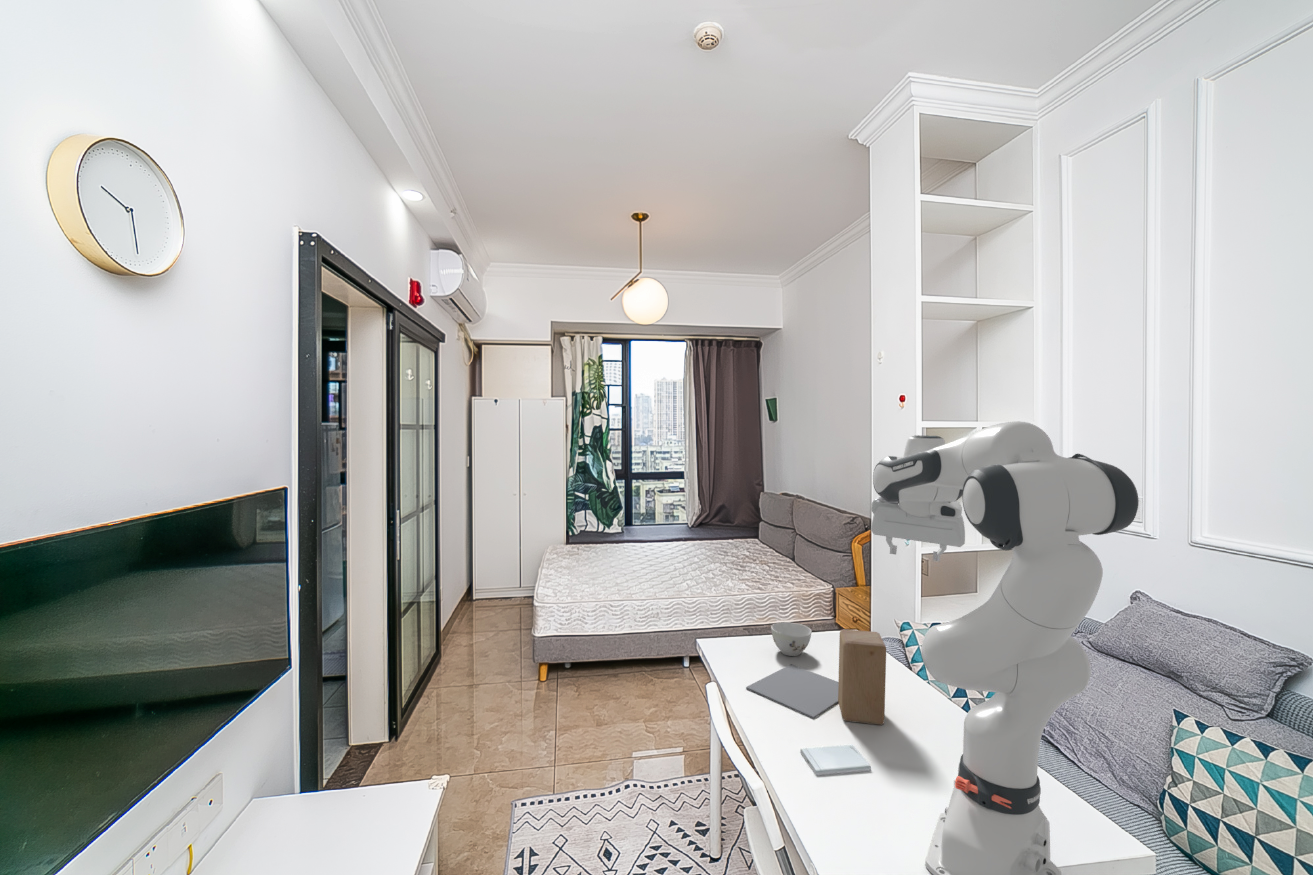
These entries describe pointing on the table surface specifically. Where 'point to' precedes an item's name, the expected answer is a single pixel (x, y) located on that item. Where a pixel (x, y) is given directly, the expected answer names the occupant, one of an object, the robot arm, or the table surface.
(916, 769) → the table surface
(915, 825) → the table surface
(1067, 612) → the robot arm
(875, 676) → the wooden block
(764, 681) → the grey flat square slab
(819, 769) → the hard drive
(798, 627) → the teacup
